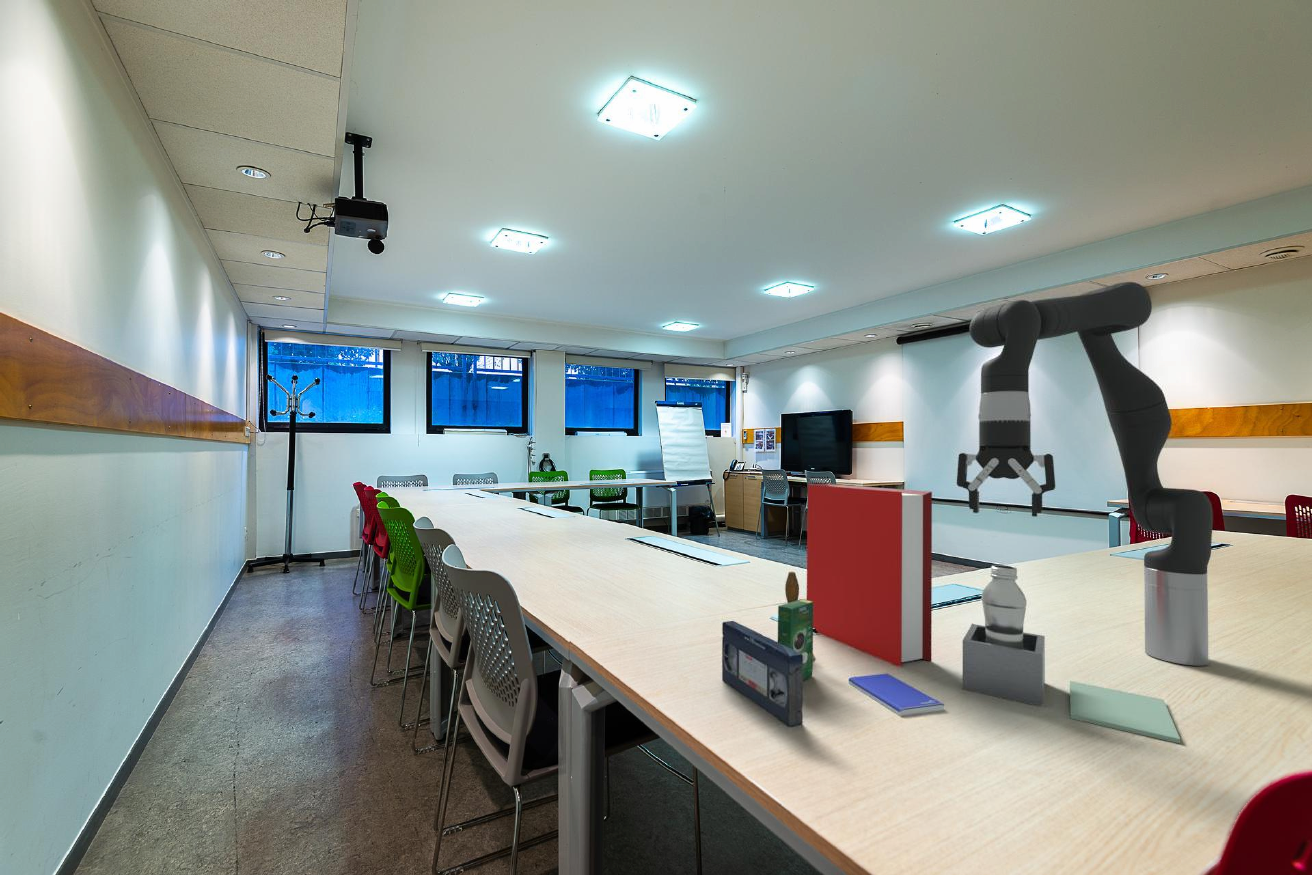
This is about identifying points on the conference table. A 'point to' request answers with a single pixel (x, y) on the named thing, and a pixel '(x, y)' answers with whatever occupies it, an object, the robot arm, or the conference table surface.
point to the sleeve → (1004, 667)
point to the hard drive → (895, 694)
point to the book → (871, 569)
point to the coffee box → (797, 631)
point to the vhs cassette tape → (763, 672)
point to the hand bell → (792, 589)
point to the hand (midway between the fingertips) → (1004, 514)
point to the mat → (1122, 711)
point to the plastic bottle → (1004, 608)
